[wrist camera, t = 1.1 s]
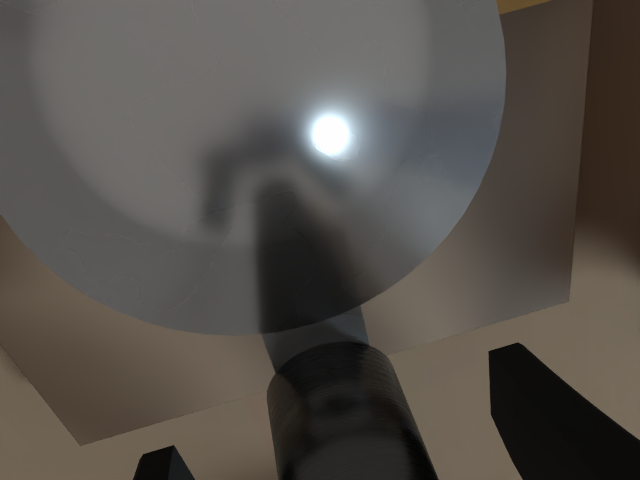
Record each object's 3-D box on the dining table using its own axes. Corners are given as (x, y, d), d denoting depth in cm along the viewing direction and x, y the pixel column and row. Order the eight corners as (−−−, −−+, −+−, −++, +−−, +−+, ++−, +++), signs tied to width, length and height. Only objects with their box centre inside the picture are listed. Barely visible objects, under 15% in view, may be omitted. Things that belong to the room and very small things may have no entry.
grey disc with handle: (-111, -104, 8) (-546, -49, 3) (434, -241, 8) (759, -372, 4) (175, 402, 14) (170, 658, 10) (469, 315, 15) (598, 524, 10)
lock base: (572, -815, 8) (791, -1197, 5) (537, 264, 20) (596, 333, 17) (-591, -572, 7) (-1094, -851, 4) (89, 395, 19) (72, 490, 16)
